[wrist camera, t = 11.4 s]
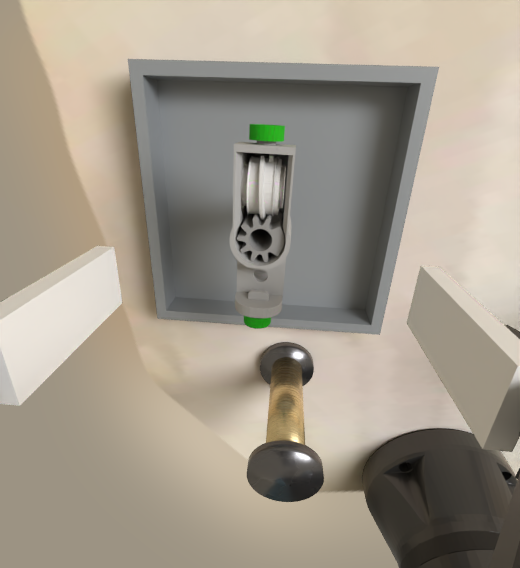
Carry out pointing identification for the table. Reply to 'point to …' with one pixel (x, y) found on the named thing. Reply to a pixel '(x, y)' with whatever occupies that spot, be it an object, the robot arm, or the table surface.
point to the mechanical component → (261, 221)
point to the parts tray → (305, 191)
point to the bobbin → (285, 430)
